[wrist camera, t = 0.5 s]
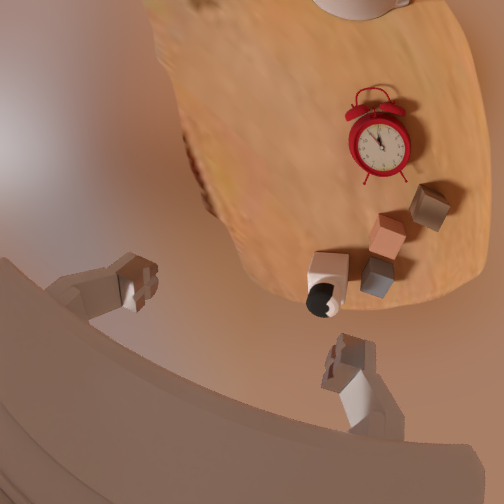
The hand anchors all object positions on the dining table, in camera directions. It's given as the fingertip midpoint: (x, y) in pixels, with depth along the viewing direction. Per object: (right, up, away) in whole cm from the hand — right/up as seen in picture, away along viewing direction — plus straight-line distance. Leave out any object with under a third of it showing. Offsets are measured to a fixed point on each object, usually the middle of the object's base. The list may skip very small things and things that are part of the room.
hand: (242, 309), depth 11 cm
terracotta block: (+25, +6, +34) cm, 43 cm away
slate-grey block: (+25, -1, +40) cm, 47 cm away
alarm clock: (+21, +21, +26) cm, 39 cm away
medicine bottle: (+17, -1, +43) cm, 46 cm away
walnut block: (+30, +11, +29) cm, 43 cm away
